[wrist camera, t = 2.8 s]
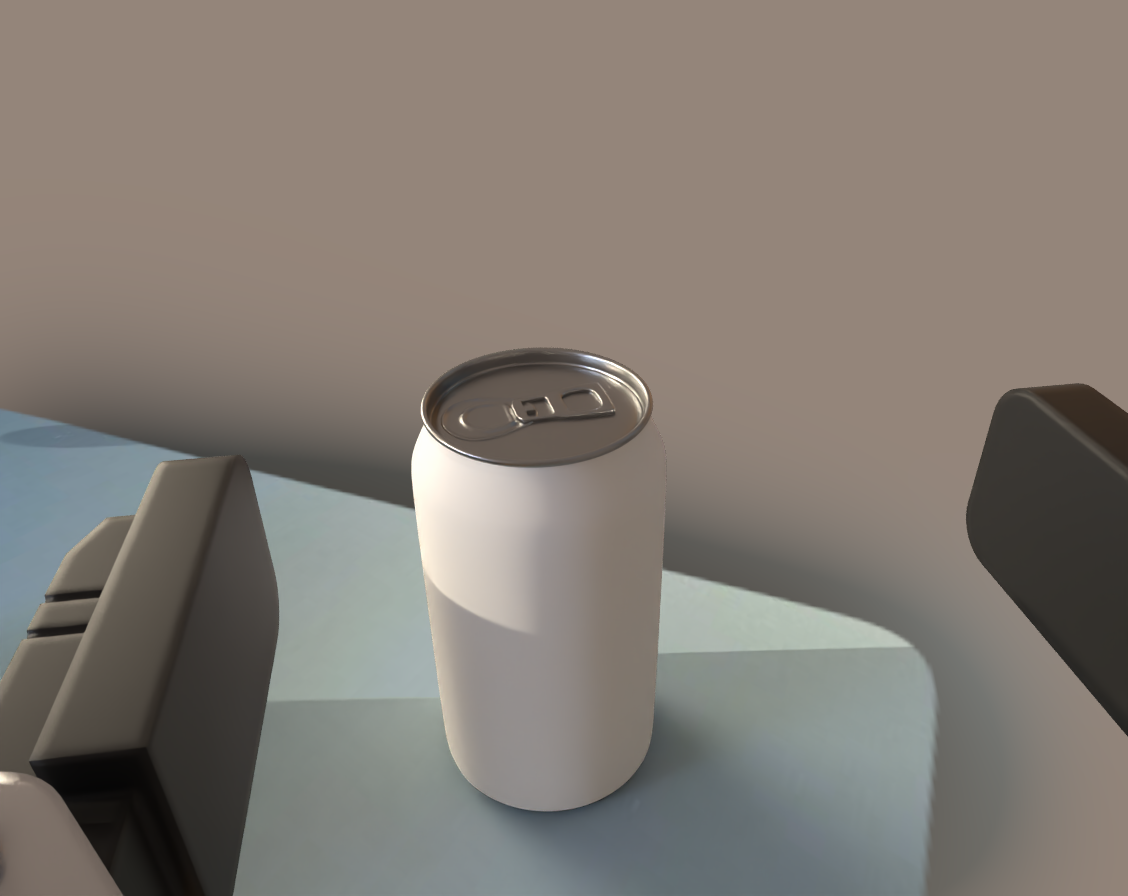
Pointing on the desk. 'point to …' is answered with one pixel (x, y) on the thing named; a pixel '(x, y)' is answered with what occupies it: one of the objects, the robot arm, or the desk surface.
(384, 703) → the desk surface
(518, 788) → the can
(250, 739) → the robot arm
